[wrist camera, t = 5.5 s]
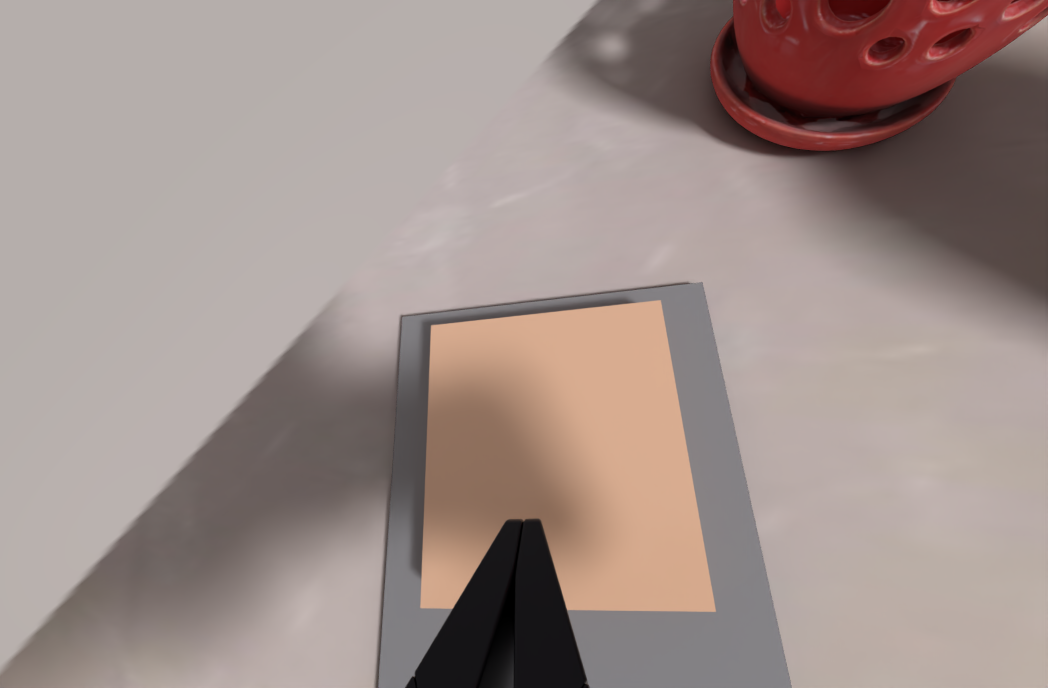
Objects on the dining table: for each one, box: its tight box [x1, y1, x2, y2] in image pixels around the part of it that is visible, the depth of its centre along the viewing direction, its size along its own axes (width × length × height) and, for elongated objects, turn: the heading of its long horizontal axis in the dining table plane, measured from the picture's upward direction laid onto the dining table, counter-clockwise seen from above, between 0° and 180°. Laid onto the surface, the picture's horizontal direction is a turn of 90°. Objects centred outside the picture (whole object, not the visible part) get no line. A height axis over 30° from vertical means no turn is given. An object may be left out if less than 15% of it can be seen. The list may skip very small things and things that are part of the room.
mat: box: [378, 282, 792, 688], centre depth 17 cm, size 20×16×1 cm
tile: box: [420, 300, 716, 612], centre depth 17 cm, size 2×11×12 cm
